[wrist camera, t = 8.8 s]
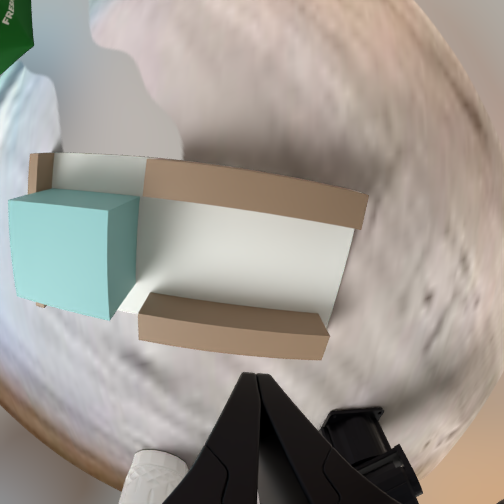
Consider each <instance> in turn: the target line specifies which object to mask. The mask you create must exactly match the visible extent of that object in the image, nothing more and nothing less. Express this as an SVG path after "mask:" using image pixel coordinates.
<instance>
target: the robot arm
mask: <svg viewBox="0 0 504 504" xmlns="http://www.w3.org/2000/svg"><path fill="white" fill-rule="evenodd" d="M383 412H384V410H383V408H372V409H361V410H347V411H333V412H330V413H329V414H328V416H327V418H326V420H325V422H324V424H323V426H322V427H321V428H320V430H319V431H318V430H317V429H316V428H315V427H314V426H313V425H312V423H311V422H310V421H309V420H308V419H307V418H306V417H305V415H304V414H303V413H302V412H301V411H300V410H299V409H298V407H297V406H296V405H295V404H294V403H293V402H292V400H291V399H290V398H289V397H288V396H287V394H286V393H285V392H284V391H283V390H282V389H281V387H280V386H279V385H278V384H277V382H276V381H275V380H274V379H273V378H272V376H271V375H269V374H261V373H257V374H255V373H249V372H243V373H242V374H241V375H240V377H239V379H238V381H237V383H236V385H235V387H234V389H233V391H232V393H231V395H230V397H229V399H228V401H227V403H226V405H225V407H224V409H223V411H222V413H221V415H220V417H219V419H218V421H217V422H216V424H215V426H214V428H213V430H212V432H211V434H210V436H209V438H208V439H207V441H206V443H205V446H204V447H203V448H202V450H201V452H200V454H199V456H198V457H197V459H196V460H195V462H194V464H193V465H192V467H191V469H190V470H189V471H188V473H187V474H186V475H185V477H184V478H183V479H182V481H181V482H180V483H179V484H178V485H177V487H176V488H175V489H174V490H173V491H172V492H171V494H170V495H169V496H168V497H167V498H166V499H165V500H164V502H163V503H162V504H257V490H258V494H259V501H260V504H419V503H418V501H417V498H416V497H417V496H419V495H421V494H423V491H422V488H421V486H420V483H419V481H418V479H417V477H416V474H415V472H414V470H413V468H412V467H411V465H410V463H409V461H408V459H407V457H406V455H405V453H404V452H403V450H402V448H401V446H400V444H398V445H396V446H394V448H392V449H391V447H390V445H389V442H388V440H387V438H386V436H385V434H384V432H383V430H382V428H381V426H380V424H379V422H378V420H379V419H380V417H381V416H382V414H383ZM401 466H402V467H401ZM497 504H504V499H503V500H501V501H500V502H498V503H497Z"/></svg>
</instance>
